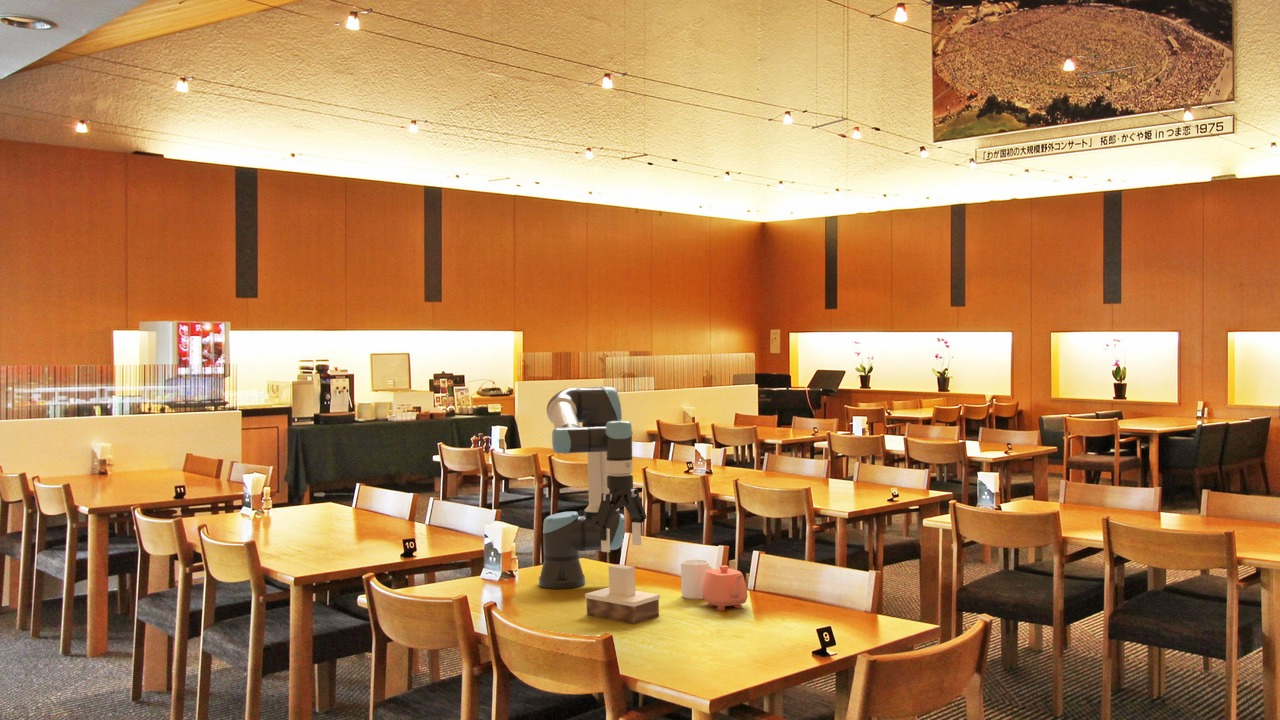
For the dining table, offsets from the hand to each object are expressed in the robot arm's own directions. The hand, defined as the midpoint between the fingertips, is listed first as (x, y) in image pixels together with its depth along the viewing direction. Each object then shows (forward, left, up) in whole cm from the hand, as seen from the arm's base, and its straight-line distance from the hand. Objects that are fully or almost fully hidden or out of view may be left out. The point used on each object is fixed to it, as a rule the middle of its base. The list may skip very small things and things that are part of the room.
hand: (621, 548), depth 307 cm
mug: (+3, +33, -20) cm, 39 cm away
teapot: (+18, +26, -20) cm, 37 cm away
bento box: (0, 0, -20) cm, 20 cm away
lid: (0, 0, -16) cm, 16 cm away
